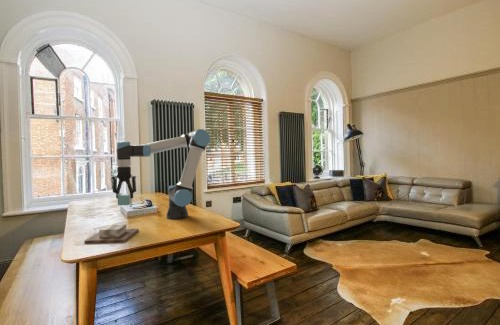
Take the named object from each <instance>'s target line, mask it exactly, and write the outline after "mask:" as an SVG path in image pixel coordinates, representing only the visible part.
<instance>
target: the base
mask: <svg viewBox="0 0 500 325" xmlns="http://www.w3.org/2000/svg"><path fill="white" fill-rule="evenodd" d="M138 232H140V230H139V228H127V224H107V225H106V226H104V227H102V228H100V229H99V232H97V233H96V234H93V235H92V236H90V237H88V238H87V239H85V240H84V241H83V242H84V245H85V244H86V245H87V244H120V243H123V244H124V243H126V242H127V241H129V240H130V238H132V237H134V236H135V235H136V234H137V233H138Z"/></svg>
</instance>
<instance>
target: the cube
mask: <svg viewBox="0 0 500 325" xmlns="http://www.w3.org/2000/svg"><path fill="white" fill-rule="evenodd" d="M132 204H133V202H132V203H131V204H129V193H121V195H118V199H117V206H129V205H132Z"/></svg>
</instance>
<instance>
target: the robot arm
mask: <svg viewBox="0 0 500 325" xmlns="http://www.w3.org/2000/svg"><path fill="white" fill-rule="evenodd" d="M210 141H211V135H210V133H209V131H207V130H206V129H202V128H198V129H196V130H195V129H194V130H193V131H191V132H187V133H185V134H181V136H177V137H173V138H167V139H162V140H158V141H152V142H148V143H144V144H131V142H130V141H121V140H119V141H118V142H116V163H117V164H116V165H117V168H116V169H117V175H114V176H112V193H115V196H116V199H117V200H118V195H121V194H122V193H120V191H121V189H122V186H123V183H124V182H125V183H126V186H127V188H128V190H129V191H128V192H129V193H128V194H129V205H132V204H133V199H134V193H136V192H137V183H136V179H137V176H136V175H132V169H131V164H132V163H131V157H133V158H137V157H139V158H141V157H144V158H147V157H151V156H152V155H153V154H156V153H162V152H165V151H170V150H174V149H178V148H179V149H180V148H189V151H188V153H187V154H188V155H187V157H186V159H185V162H184V166H183V169H182V173H181V175H180V176H181V177H180V179H179V181H178V183H176V185H169V186H168V208H167V212H166V218H167V219H168V220H181V218H182V219H186V218H188V217H189V212H188V209H187V206H188V205H190V204H191V202H192V199H193V195H192V193H193V190H194V188H193V182H194V180H195V176H196V174H197V170H198V166H199V164H200V160H201V156H202V154H203V153H204V152H205V151H206V148H207V146H208V144H209V143H210ZM130 179H131V180H130ZM131 203H132V204H131ZM185 217H186V218H185Z"/></svg>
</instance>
